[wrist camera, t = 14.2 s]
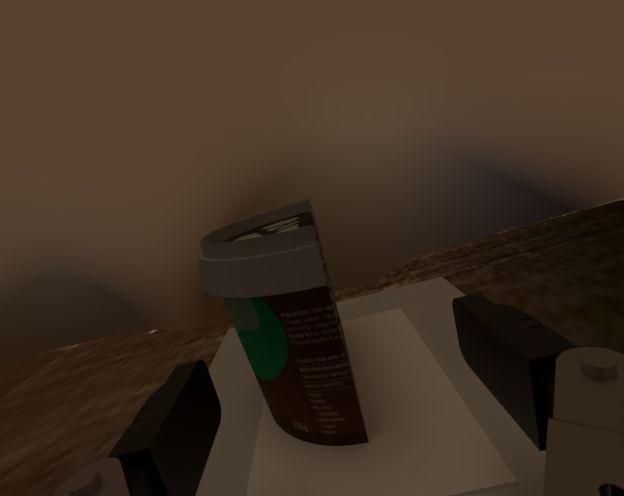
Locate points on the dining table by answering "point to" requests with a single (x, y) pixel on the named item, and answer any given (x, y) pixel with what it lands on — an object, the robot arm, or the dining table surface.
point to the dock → (379, 415)
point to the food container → (287, 321)
